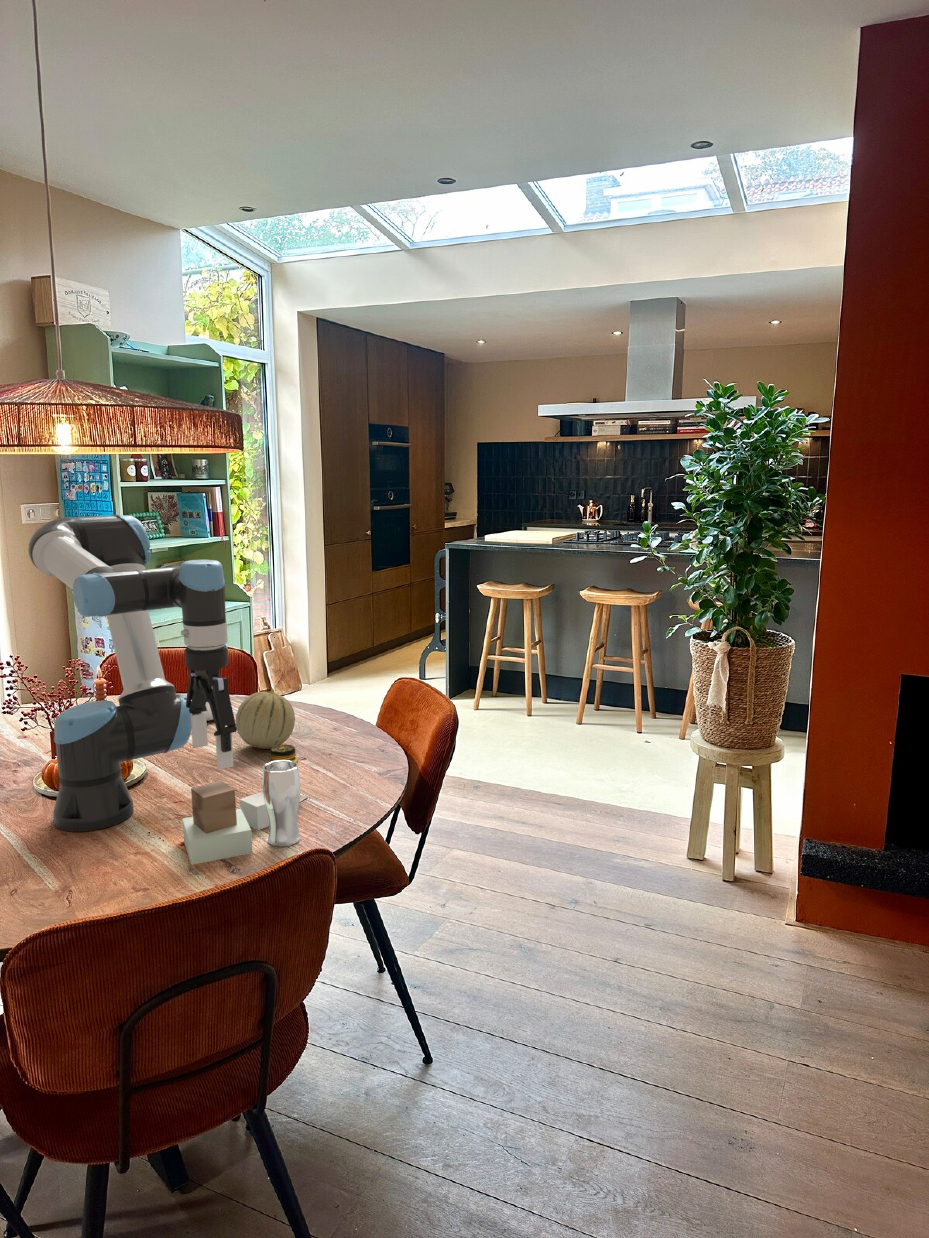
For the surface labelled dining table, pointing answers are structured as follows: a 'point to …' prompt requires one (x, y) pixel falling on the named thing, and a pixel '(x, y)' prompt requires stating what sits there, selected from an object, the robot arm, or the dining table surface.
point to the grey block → (255, 811)
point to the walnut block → (214, 806)
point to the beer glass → (282, 801)
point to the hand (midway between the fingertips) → (212, 756)
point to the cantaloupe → (265, 720)
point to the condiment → (284, 757)
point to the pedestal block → (217, 840)
